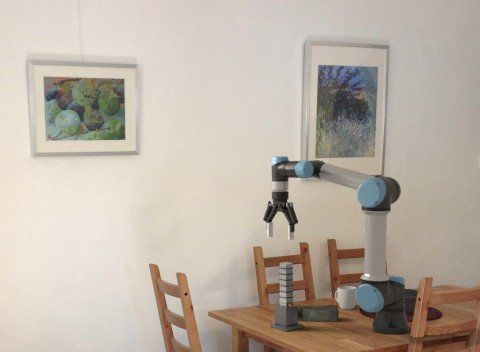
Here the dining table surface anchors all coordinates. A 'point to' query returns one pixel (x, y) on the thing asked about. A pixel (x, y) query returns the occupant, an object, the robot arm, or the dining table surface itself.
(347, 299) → the mug
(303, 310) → the beverage carton
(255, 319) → the dining table surface
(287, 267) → the column
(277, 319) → the stand
